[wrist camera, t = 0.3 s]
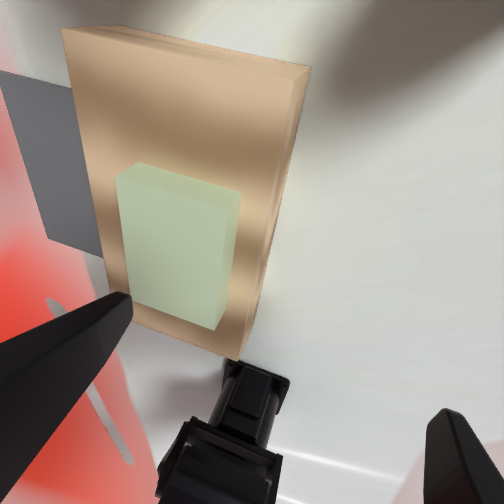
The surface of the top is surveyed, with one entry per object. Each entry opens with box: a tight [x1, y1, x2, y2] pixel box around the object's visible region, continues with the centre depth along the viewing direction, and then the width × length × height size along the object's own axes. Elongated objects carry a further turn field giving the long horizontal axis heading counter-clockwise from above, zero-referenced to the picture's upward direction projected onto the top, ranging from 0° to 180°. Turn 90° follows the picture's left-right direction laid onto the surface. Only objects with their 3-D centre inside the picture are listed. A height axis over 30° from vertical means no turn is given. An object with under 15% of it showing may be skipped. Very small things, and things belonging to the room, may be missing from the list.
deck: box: [61, 25, 311, 362], centre depth 22 cm, size 20×11×4 cm, turn 172°
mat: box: [0, 70, 104, 258], centre depth 25 cm, size 14×9×1 cm, turn 172°
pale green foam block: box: [115, 162, 242, 330], centre depth 19 cm, size 9×6×2 cm, turn 172°
